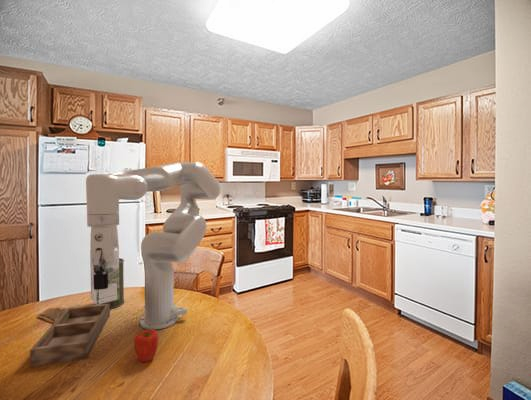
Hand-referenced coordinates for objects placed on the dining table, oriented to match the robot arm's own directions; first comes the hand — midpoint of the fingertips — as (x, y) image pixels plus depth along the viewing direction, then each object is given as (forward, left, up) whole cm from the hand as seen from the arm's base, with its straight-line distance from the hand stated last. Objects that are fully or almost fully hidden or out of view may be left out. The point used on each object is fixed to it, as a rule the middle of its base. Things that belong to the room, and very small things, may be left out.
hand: (105, 282), depth 75 cm
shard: (+23, -31, -22) cm, 44 cm away
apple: (-11, +4, -21) cm, 24 cm away
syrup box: (0, 0, -5) cm, 5 cm away
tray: (+11, -13, -21) cm, 27 cm away
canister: (+7, -36, -21) cm, 42 cm away
